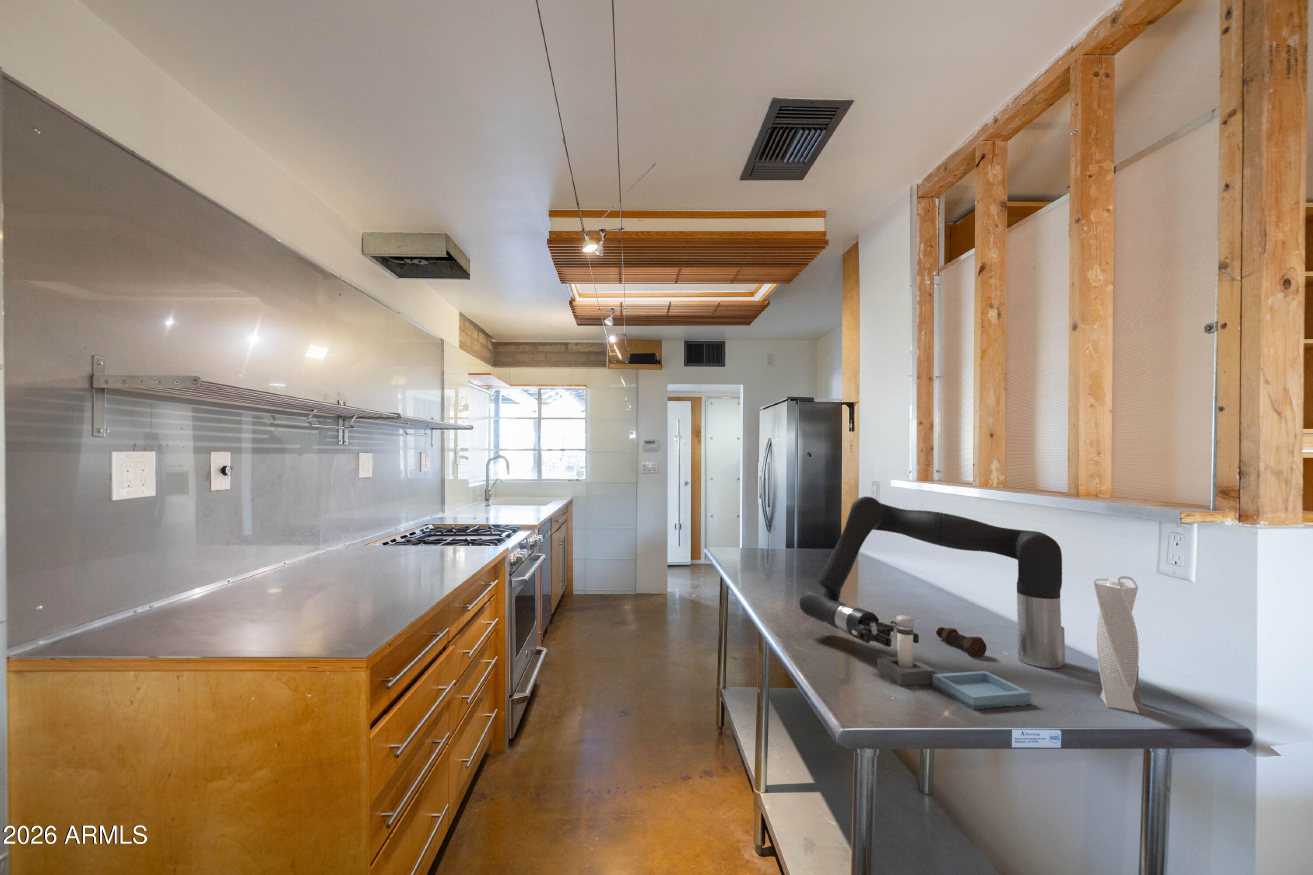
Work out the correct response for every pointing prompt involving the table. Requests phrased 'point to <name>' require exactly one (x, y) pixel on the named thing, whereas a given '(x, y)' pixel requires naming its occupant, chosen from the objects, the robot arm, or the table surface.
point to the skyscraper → (1118, 645)
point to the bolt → (963, 641)
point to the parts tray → (981, 689)
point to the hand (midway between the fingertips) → (904, 640)
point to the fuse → (905, 641)
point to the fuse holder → (905, 672)
